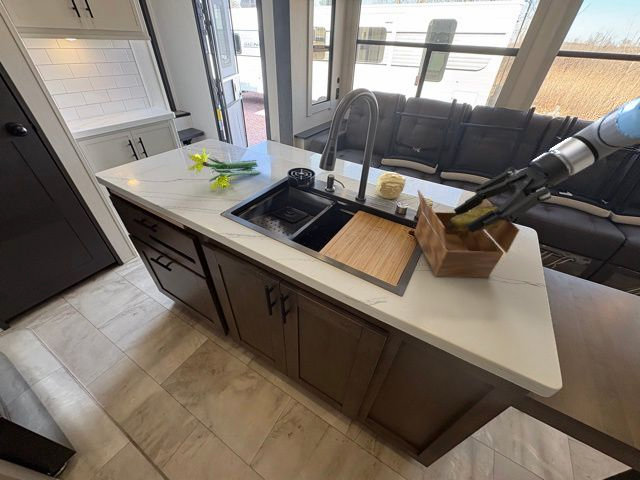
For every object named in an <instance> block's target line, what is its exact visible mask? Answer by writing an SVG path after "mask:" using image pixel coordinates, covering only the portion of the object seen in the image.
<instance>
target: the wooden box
mask: <svg viewBox="0 0 640 480" xmlns="http://www.w3.org/2000/svg"><path fill="white" fill-rule="evenodd" d="M485 205H493V204H492V203H491V201H489V200H488V198H487V199H485V200H483V202H481V204H480V205H478V206H476V207H475V208H473V209H476V208H477V207H481V206H485ZM473 209H471V210H473ZM471 210H470V211H471ZM434 213H435V214H436V215H437V217H438V218H439V220H440V221H441V223H442V224H443V226H444V227H445V232H446V239H447V246H448V249H447V250H446V248H445V246H444V245H443V243H442V242H441V240H440V238H439V237H438V235H437V234H436V232H435V231H434V229H433V227H432V226H431V224H430V223H429V221H428V219H427V218H426V216H425V215H424V213H423V211H422V210H421V212H420V214H419V218H418V221H417V224H416V227H415V230H414V234H413V235H414V236H415V238H416V240H417V242H418V244H419V246H420V248H421V250H422V252H423V254H424V256H425V258H426V260H427V262H428V264H429V266H430V268H431V270H432V272H433V274H434V275H435V277H460V278H461V277H465V278H466V277H467V278H489V277H490V275H492V272H493V271H494V269H495V268H496V266H497V265H498V263H499V261H500V260H501V259H502V257H503V255H504V253H505V254H508V253H509V251H510V249H511V246H512V245H513V243H514V241H515V239H516V237H517V235H518V234H519V232H520V228H518V227H517V226H516V225H515V224H514V223H513V221H511V222H506V221H505V220H503V222H502V223H501V224H500V225H499V226H498V227H497V228H494V227H493V228H488V229H484V230H480V231H475V232H473V233H471V232H454V231H452V230H451V229H450V228H449V222H450V220H451V219H452V218H453V217H455V216H457V214H456V213H455V211H434ZM420 240H421V242H422V244H423V246H422V245H421V243H420Z"/></svg>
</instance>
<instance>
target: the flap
mask: <svg viewBox="0 0 640 480" xmlns="http://www.w3.org/2000/svg"><path fill="white" fill-rule="evenodd" d="M417 195H418V199H419V204H420V205H419V206H420V210H421V212H422V211H423V213H424V215H425V216H426V218H427V219H428V221H429V223H430V224H431V226H432V227H433V229H434V231H435V232H436V234H437V235H438V237H439V238H440V240H441V242H442V243H443V245H444V246H445V248H446V250H447V249H448V246H447V239H446V232H445V227H444V226H443V224H442V223H441V221H440V220H439V218H438V217H437V215H436V214H435V213H434V212H435V210H433V208H432V207H431V205H430V204H429V202H428V201H427V199H426V198H425V197H424V195H423V194H422V192H421V190H420V189H418V190H417Z"/></svg>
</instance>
